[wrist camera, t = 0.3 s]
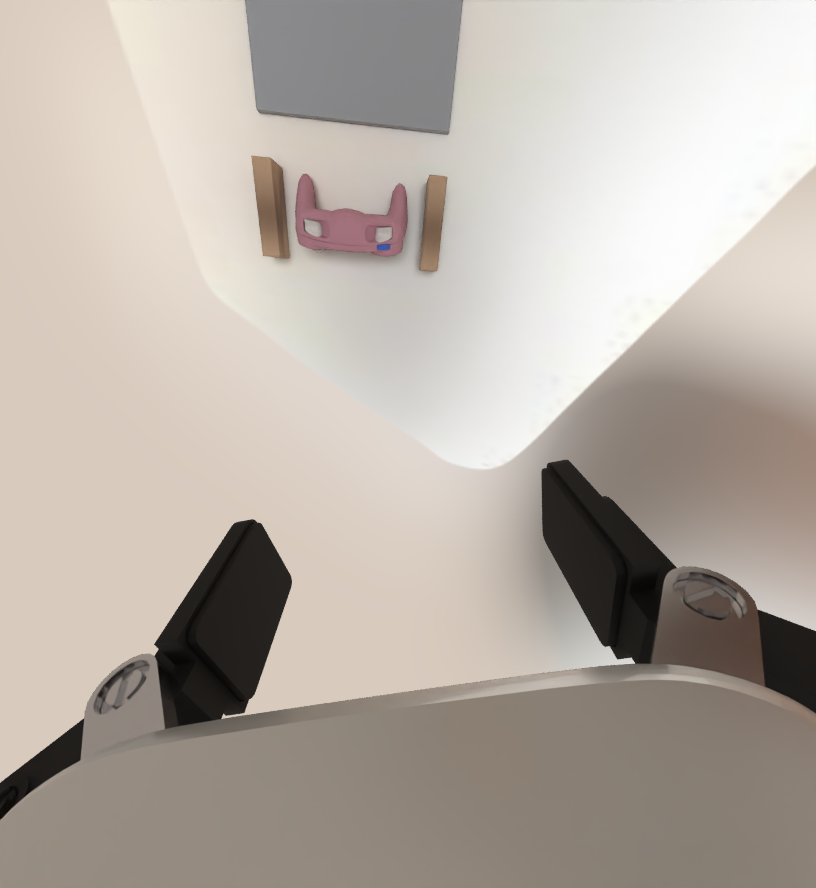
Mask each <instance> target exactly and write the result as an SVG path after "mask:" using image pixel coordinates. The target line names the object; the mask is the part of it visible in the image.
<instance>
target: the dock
mask: <svg viewBox="0 0 816 888" xmlns="http://www.w3.org/2000/svg"><path fill="white" fill-rule="evenodd" d="M252 165H253V174H254V182H255V191H256V199H257V208H258V216H259V225H260V233H261V242H262V251H263V256H270V257H279V258H290V256H289V244H288V232H287V220H286V208H285V196H284V184H283V172H282V168H281V167H280V166H279V165H278V164H277V163H276V162H275V161H274V160H272V159H271V158H268V157H259V156H252ZM446 184H447V177H445V176H436V175H429V178H428V181H427V186H426V198H425V210H424V222H423V234H422V246H421V258H420V270H426V271H437V269H438V259H439V250H440V241H441V231H442V222H443V212H444V203H445V194H446Z"/></svg>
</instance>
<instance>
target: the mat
mask: <svg viewBox="0 0 816 888" xmlns="http://www.w3.org/2000/svg"><path fill="white" fill-rule="evenodd" d="M462 1H463V0H245V4H246V13H247V23H248V32H249V42H250V51H251V61H252V70H253V79H254V89H255V98H256V108H257V110H258V112H259V113H266V114H275V115H284V116H292V117H301V118H310V119H318V120H327V121H335V122H344V123H353V124H361V125H370V126H379V127H387V128H396V129H405V130H413V131H422V132H431V133H439V134H448V133H449V127H450V118H451V108H452V98H453V89H454V79H455V69H456V59H457V50H458V40H459V30H460V21H461V11H462Z"/></svg>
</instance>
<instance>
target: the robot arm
mask: <svg viewBox="0 0 816 888" xmlns="http://www.w3.org/2000/svg"><path fill="white" fill-rule="evenodd" d="M542 524H543V536H544V539H545V542H546V544H547V546H548V548H549V549H550V551H551V553H552V555H553V557H554V558H555V560H556V562H557V564H558V566H559V568H560V569H561V571H562V573H563V575H564V577H565V578H566V580H567V582H568V584H569V586H570V587H571V589H572V591H573V593H574V595H575V597H576V598H577V600H578V602H579V604H580V606H581V608H582V609H583V611H584V613H585V615H586V617H587V619H588V620H589V622H590V624H591V626H592V627H593V629H594V631H595V633H596V635H597V637H598V638H599V640H600V641H601V643H602V645H603V646H605V647H606V646H610V647H611V649H612V651H613V652H614V654H615V656H616V658H617V659H624V658H631V657H632V659H633V660H634V662H635V664H625V665H610V666H598V667H590V668H582V669H573V670H565V671H556V672H548V673H539V674H531V675H524V676H516V677H509V678H503V679H495V680H488V681H480V682H473V683H465V684H458V685H451V686H444V687H436V688H430V689H423V690H415V691H409V692H401V693H394V694H387V695H380V696H373V697H366V698H359V699H352V700H345V701H339V702H332V703H325V704H318V705H311V706H304V707H298V708H291V709H284V710H278V711H271V712H264V713H257V714H251V715H245V716H237V717H231V718H225V719H221V718H222V715H223V713H224V714H225V715H226V716H227V715H234V714H240V713H244V712H245V709H246V706H247V704H248V701H249V699H251V698H252V697H253V695H254V694H255V692H256V689H257V686H258V683H259V680H260V677H261V674H262V671H263V668H264V665H265V662H266V660H267V657H268V654H269V651H270V648H271V644H272V642H273V639H274V636H275V633H276V630H277V627H278V624H279V621H280V618H281V615H282V612H283V609H284V606H285V604H286V601H287V598H288V595H289V592H290V589H291V585H292V579H291V575H290V573H289V572H288V570H287V568H286V566H285V565H284V563H283V561H282V559H281V558H280V556H279V554H278V552H277V550H276V549H275V547H274V545H273V544H272V542H271V540H270V538H269V536H268V534H267V533H266V531H265V529H264V527H263V526H262V524H261V523H257V522H256V521H255V520H252V519H251V520H247V521H241V522H237V523H234V524H233V525H232V527H231V528H230V530H229V531H228V533H227V534H226V536H225V537H224V539H223V540H222V542H221V544H220V545H219V547H218V548H217V550H216V551H215V553H214V554H213V556H212V557H211V559H210V560H209V562H208V563H207V565H206V566H205V568H204V569H203V571H202V572H201V574H200V575H199V577H198V579H197V580H196V582H195V583H194V585H193V586H192V588H191V589H190V591H189V592H188V594H187V595H186V597H185V598H184V600H183V601H182V603H181V604H180V606H179V607H178V609H177V610H176V612H175V614H174V615H173V617H172V618H171V620H170V621H169V623H168V624H167V626H166V627H165V629H164V630H163V632H162V633H161V635H160V636H159V638H158V639H157V641H156V642H155V644H154V645H155V646H156V647H157V648H158V649H159V650H158V652H157V653H156V655H155V656H153V655H151V654H141V655H138V656H136V657H133V658H131V659H129V660H128V661H126V662H124V663H122V664H121V665H120V666H118V667H117V668H116V669H115V670H113V671H112V672H111V673H110V674H109V675H108V676H107V677H106V678H105V679H104V680H103V681H102V682H101V683H100V685H99V686H98V687H97V688H96V690H95V691H94V692H93V694H92V696H91V698H90V699H89V701H88V703H87V706H86V710H85V717H84V719H83V720H81V721H80V722H79V723H77V724H76V725H75V726H74V727H72V728H71V729H70V730H68V731H67V732H66V733H64V734H63V735H62V736H61V737H59V738H58V739H57V740H55V741H54V742H53V743H52V744H50V745H49V746H47V747H46V748H45V749H44V750H42V751H41V752H40V753H39V754H37V755H36V756H34V757H33V758H32V759H31V760H29V761H28V762H27V763H25V764H24V765H23V766H22V767H20V768H19V769H18V770H16V771H15V772H14V773H12V774H11V775H10V776H9V777H7V778H6V779H5V780H3V781H2V782H1V783H0V888H816V631H814V630H811V629H808V628H805V627H803V626H800V625H798V624H795V623H792V622H790V621H787V620H784V619H782V618H779V617H776V616H774V615H771V614H768V613H766V612H763V611H760V610H757V607H756V604H755V601H754V600H753V599H752V597H751V596H750V595H749V594H748V592H747V591H746V590H744V589H743V588H742V587H741V586H740V585H738V584H737V583H736V582H734V581H733V580H731V579H729V578H727V577H726V576H724V575H722V574H719V573H717V572H713V571H711V570H708V569H704V568H699V567H684V566H683V567H679V568H676V566H675V565H674V564H673V563H672V562H671V561H670V560H669V559H668V558H667V557H666V556H665V555H664V554H663V553H662V552H661V551H660V550H659V549H658V548H657V546H656V545H655V544H653V542H652V541H651V540H650V539H649V538H648V537H647V536H646V535H645V534H644V533H643V532H642V531H641V530H640V529H639V528H638V526H637V525H636V524H635V523H634V522H633V521H632V520H631V519H630V518H629V517H628V516H627V515H626V514H625V513H624V512H623V511H622V510H621V509H620V508H619V506H618V505H617V504H616V503H615V502H614V501H613V500H612V499H610V498H609V497H606V496H603V497H602V496H601V495H600V494H599V493H598V492H597V491H596V490H595V489H594V488H593V486H592V485H591V484H590V483H589V482H588V481H587V480H586V479H585V478H584V477H583V475H582V474H581V473H580V472H579V471H578V470H577V469H576V468H575V467H574V466H573V465H572V464H571V462H569V461H568V460H562V461H557V462H551V463H548V464H547V468H544V469H542Z"/></svg>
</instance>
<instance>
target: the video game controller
mask: <svg viewBox="0 0 816 888" xmlns="http://www.w3.org/2000/svg"><path fill="white" fill-rule="evenodd" d="M295 215H296V232H297V237H298V242H299V244H301V245H302V246H304V247H306V248H309V249H313V250H314V251H317V252H322V251H324V250H325V249H327V248H328V249H333V250H340V251H350V252H371V253H373V254H376V255H379V256H394V255H397V254H399V253H400V252H401V251H402V246H403V238H404V235H405V232H406V228H407V197H406V191H405V188H404V186H403V185H402V184H400V183H399V184H398V185H397V186H396V187H395V189H394V191H393V194H392V200H391V205H390V209H389V212H388V215H387V216H385V215H372V214H364V213H361V212H359V211H356V210H352V209H339V210H335V211H328V210H321V209H316V208H315V196H314V189H313V184H312V180H311V178H310V177H309V176H308V175H307V174H303V175H302V176H301V178H300V180H299V183H298V189H297V197H296V210H295Z"/></svg>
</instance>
